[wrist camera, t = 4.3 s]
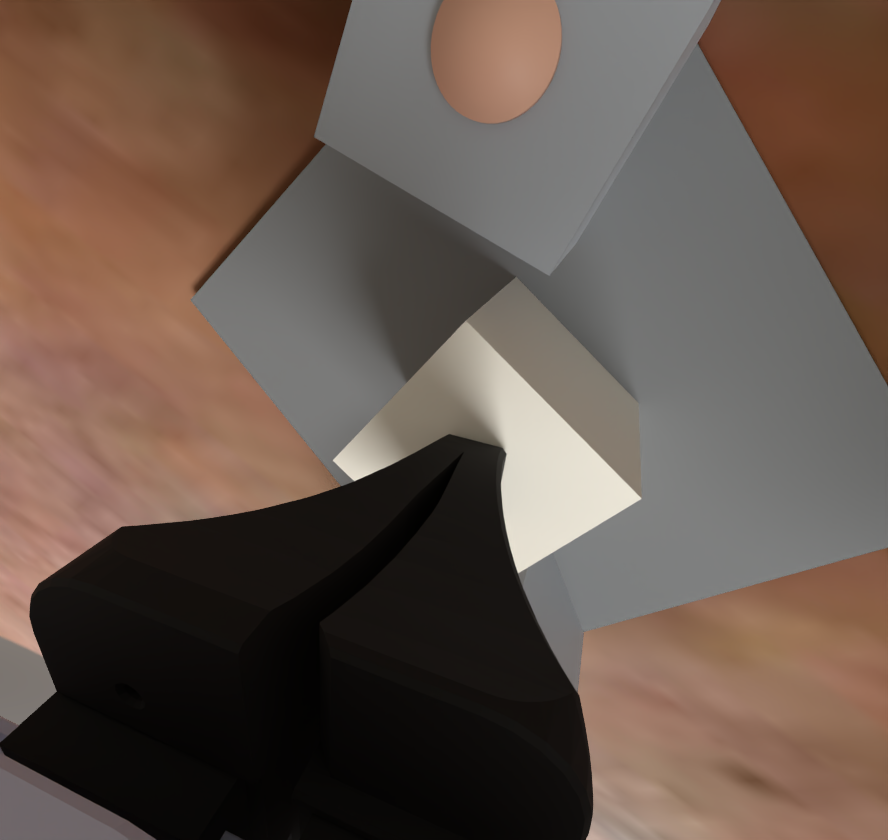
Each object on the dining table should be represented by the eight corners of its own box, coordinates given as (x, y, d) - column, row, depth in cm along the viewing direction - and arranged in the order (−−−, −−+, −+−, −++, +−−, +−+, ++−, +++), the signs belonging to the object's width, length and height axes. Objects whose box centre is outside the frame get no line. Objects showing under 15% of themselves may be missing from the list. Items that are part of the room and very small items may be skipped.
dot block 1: (505, -86, 11) (419, -268, 6) (708, 24, 11) (764, -86, 6) (414, 149, 13) (308, 135, 9) (575, 243, 13) (547, 277, 9)
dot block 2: (539, 521, 17) (507, 641, 13) (583, 633, 19) (568, 776, 14) (415, 540, 19) (351, 648, 15) (463, 638, 21) (417, 765, 16)
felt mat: (588, -146, 10) (586, -157, 10) (956, 517, 13) (965, 525, 13) (198, 297, 18) (190, 299, 18) (484, 652, 21) (481, 660, 21)
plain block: (516, 276, 14) (465, 320, 10) (638, 403, 14) (641, 499, 10) (409, 387, 17) (332, 460, 12) (515, 492, 17) (476, 598, 13)
